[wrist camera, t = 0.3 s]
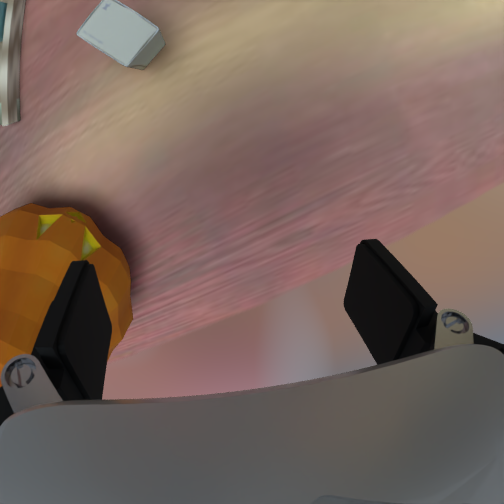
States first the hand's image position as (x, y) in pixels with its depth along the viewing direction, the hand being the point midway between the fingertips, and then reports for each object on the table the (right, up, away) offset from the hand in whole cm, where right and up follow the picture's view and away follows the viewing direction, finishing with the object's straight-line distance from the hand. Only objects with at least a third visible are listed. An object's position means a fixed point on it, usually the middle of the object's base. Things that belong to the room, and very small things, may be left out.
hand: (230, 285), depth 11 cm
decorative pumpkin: (-27, 0, +31) cm, 41 cm away
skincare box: (-13, +25, +18) cm, 34 cm away
